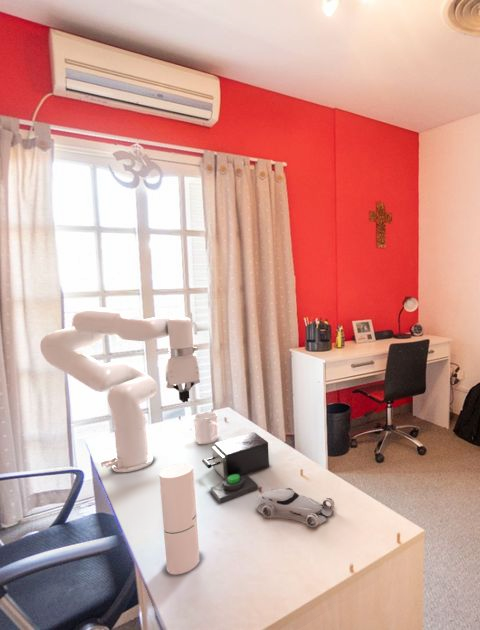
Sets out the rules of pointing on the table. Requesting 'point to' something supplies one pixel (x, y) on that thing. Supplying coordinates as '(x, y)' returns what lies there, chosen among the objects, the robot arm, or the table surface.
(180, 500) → the cylindrical container
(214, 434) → the mug
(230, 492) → the control block
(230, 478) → the button
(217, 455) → the drawer
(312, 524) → the car model
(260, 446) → the cabinet
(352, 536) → the table surface
